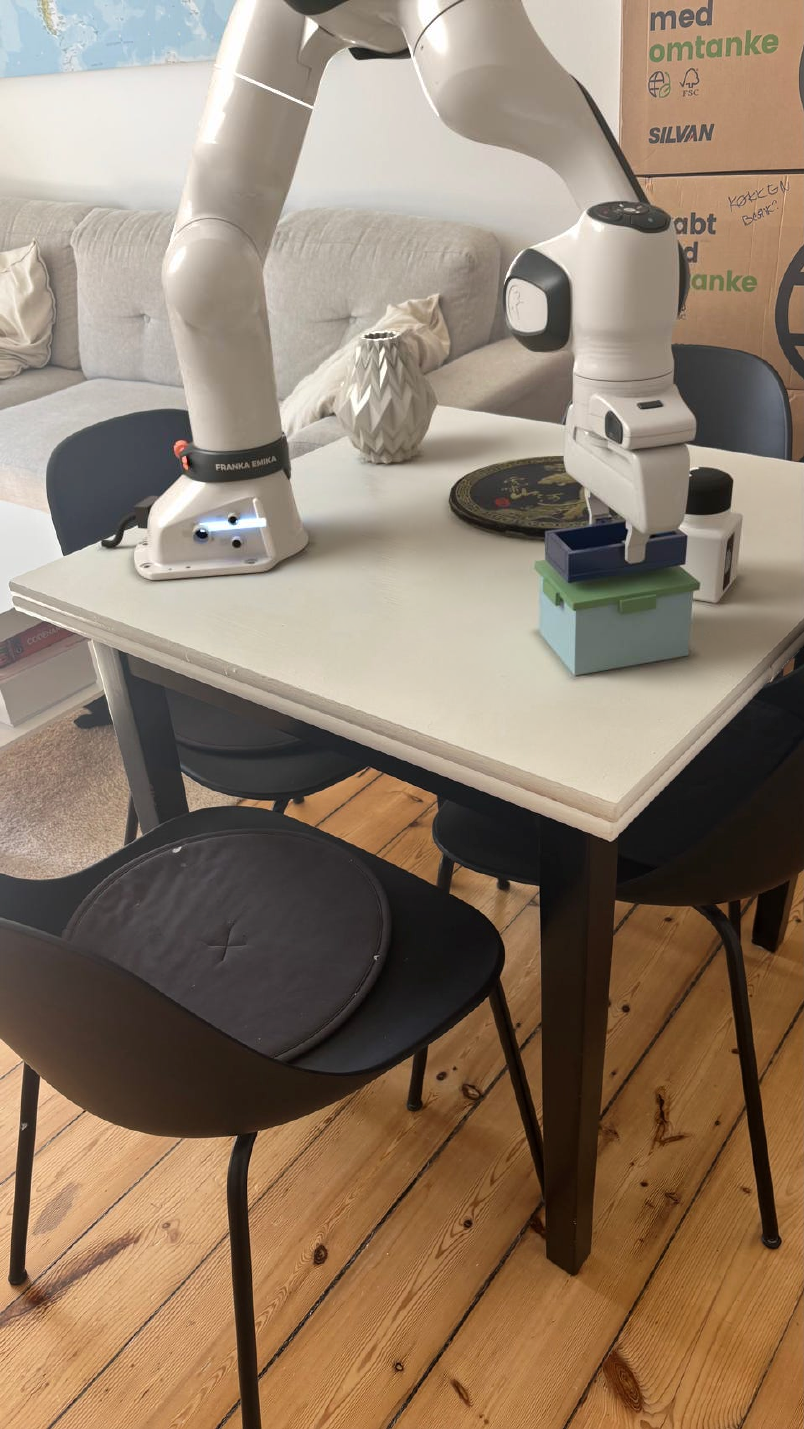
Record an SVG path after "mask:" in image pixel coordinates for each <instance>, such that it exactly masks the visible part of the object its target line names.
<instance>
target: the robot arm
mask: <svg viewBox="0 0 804 1429" xmlns="http://www.w3.org/2000/svg"><path fill="white" fill-rule="evenodd" d="M527 13H528V12H527V11H526V8H525V6H524V4H523V1H522V0H235V3H234V6H233V8H232V10H231V12H230V15H229V18H228V21H227V22H226V26H225V28H224V30H223V34H222V38H221V41H220V44H219V48H218V50H217V55H216V56H215V57H216V59H215V61H214V66H213V69H212V73H211V77H210V80H209V85H208V89H207V91H206V92H207V93H206V97H205V100H204V104H203V108H202V112H201V116H200V119H199V124H198V127H197V132H196V136H195V140H194V144H193V147H192V152H191V156H190V160H189V165H188V170H187V173H186V177H185V182H184V186H183V190H182V193H181V199H180V201H179V202H180V203H179V206H178V210H177V214H176V218H175V222H174V227H173V229H172V230H173V231H172V234H171V237H170V242H169V244H168V246H167V249H166V251H165V254H164V257H163V259H162V263H161V271H160V272H161V284H162V290H163V295H164V300H165V305H166V311H167V314H168V315H167V316H168V319H169V324H170V330H171V333H172V334H171V335H172V339H173V343H174V347H175V352H176V358H177V360H178V365H179V369H180V373H181V378H182V383H183V389H184V394H185V401H186V406H187V413H188V418H189V419H188V420H189V424H190V430H191V436H192V441H191V442H189V443H187V441H186V440H183V439H182V440H181V439H180V440H178V441H176V442H175V444H174V445H173V450H174V455H175V457H176V458H177V459H179V466H180V470H181V476H180V477H179V478H177V480H175V482H173V484H171V486H169V488H167V489H166V491H164V493H162V494H161V495H160V496H158V495H149V496H148V497H146V498H144V499H142V500H141V501H140V502H138V503H137V504H135V505H133V511H132V512H130V513H128V514H127V515H125V516H124V517H123V518H122V519H121V520H120V521H119V523H118V524H117V527H116V532H115V536H114V538H113V539H105V538H103V539H102V538H101V541H100V545H101V547H102V548H110V549H112V548H116V547H118V546H119V545H120V544H121V542H122V541H123V538H124V535H125V530H126V528H127V526H129V524H130V523H131V522H133V521H136V524H137V529H142V530H143V529H144V530H146V535H147V536H145V537H144V538H143V539H141V540H140V541H139V542H138V543H137V545H136V547H135V548H134V551H133V561H134V567H135V570H136V572H137V573H138V574H139V575H140V576H142V577H143V578H145V579H148V580H149V581H159V580H160V581H161V580H173V579H185V578H186V579H188V578H198V577H199V578H200V577H211V576H213V577H214V576H223V575H238V574H239V575H240V574H249V573H262V572H266V571H269V570H271V569H272V568H274V567H275V566H276V565H277V564H278V563H279V562H282V561H284V560H285V559H287V558H289V557H292V556H294V555H295V554H298V553H299V552H300V551H302V550H303V549H305V547H306V546H307V544H308V543H309V535H308V533H307V531H306V529H305V526H304V523H303V521H302V518H301V515H300V513H299V509H298V507H297V503H296V498H295V496H294V491H293V486H292V483H291V478H292V460H291V453H290V445H289V441H288V438H287V435H286V432H285V431H284V430H283V426H282V418H281V409H280V402H279V401H280V400H279V393H278V385H277V376H276V369H275V362H274V353H273V345H272V339H271V330H270V321H269V312H268V305H267V296H266V287H265V280H264V269H265V268H264V267H265V264H266V261H267V257H268V254H269V251H270V248H271V245H272V242H273V239H274V235H275V233H276V230H277V227H278V224H279V222H280V217H281V214H282V211H283V209H284V206H285V203H286V200H287V197H288V195H289V191H290V189H291V186H292V183H293V181H294V176H295V173H296V170H297V167H298V163H299V160H300V156H301V153H302V150H303V147H304V143H305V139H306V135H307V133H308V129H309V126H310V122H311V119H312V117H313V116H312V115H313V112H314V108H315V106H316V102H317V99H318V95H319V91H320V87H321V84H322V80H323V77H324V74H325V71H326V69H327V67H328V64H329V63H330V61H331V60H333V58H334V57H335V56H336V55H337V54H339V52H342V51H344V50H347V49H348V51H349V53H350V54H351V56H352V57H353V59H354V60H356V61H369V60H392V61H399V60H409V59H412V61H413V65H414V66H415V70H416V73H417V75H418V78H419V81H420V83H421V86H422V89H423V92H424V94H425V96H426V98H427V100H428V102H429V104H430V106H431V108H432V109H433V111H434V112H435V113H436V115H437V117H439V119H440V120H441V122H442V123H443V124H444V125H445V126H446V127H447V128H448V129H449V130H451V131H452V132H454V133H456V134H457V135H459V136H460V137H462V138H465V139H468V140H470V141H472V142H476V143H479V144H483V145H488V146H493V147H497V148H502V149H506V150H509V151H513V152H516V153H520V154H522V155H525V156H527V157H530V158H532V159H535V160H536V161H539V162H541V163H543V164H544V165H546V166H548V167H549V168H550V169H551V170H553V171H554V172H555V173H556V174H558V176H559V177H560V178H561V180H563V182H564V183H565V185H566V187H567V189H568V191H569V192H570V195H571V197H572V198H573V200H574V202H575V204H576V206H577V208H578V209H579V211H580V213H581V216H580V218H579V220H578V222H577V223H576V224H575V225H574V226H572V227H571V228H570V229H568V230H567V231H565V232H564V233H561V234H559V235H557V236H556V237H554V238H551V239H548V240H545V241H543V242H540V243H537V244H536V245H533V246H530V247H527V248H525V249H523V250H522V251H520V252H519V253H518V254H517V255H516V256H515V258H514V260H513V261H512V262H511V264H510V266H509V267H508V271H507V273H506V276H505V279H504V283H503V291H502V308H503V316H504V320H505V323H506V326H507V328H508V330H509V331H510V333H511V335H512V336H513V337H514V339H515V340H516V341H517V342H518V343H519V344H520V345H521V346H523V347H524V348H525V349H527V350H529V351H530V352H533V353H542V354H543V353H544V354H554V353H561V352H566V351H568V352H570V353H571V354H572V355H573V358H574V363H573V369H572V403H571V404H570V405H569V407H568V409H567V412H566V416H565V417H566V418H565V428H564V437H563V438H564V439H563V440H564V441H563V456H564V465H565V469H566V472H567V473H568V474H569V475H570V476H571V477H573V478H574V479H575V480H576V481H578V482H579V483H580V484H581V485H583V486H584V487H585V498H586V502H587V507H588V511H589V514H590V524H596V523H602V522H609V521H612V516H611V515H610V514H609V507H610V508H611V509H612V510H614V511H615V512H616V513H617V514H619V515H620V516H621V517H622V518H624V519H625V520H626V529H628V534H627V538H626V541H621V549H622V551H621V556H622V557H623V558H624V559H625V560H626V561H627V562H628V563H630V564H631V563H637V562H642V561H643V560H644V558H645V546H646V543H647V541H648V539H649V537H650V535H652V534H660V533H666V532H671V531H675V530H677V529H678V528H679V526H680V525H681V523H682V522H683V520H684V517H685V512H686V505H687V497H688V487H689V475H690V468H691V456H690V450H689V448H688V446H687V444H686V442H687V443H688V442H691V441H694V440H695V439H696V433H697V419H696V417H695V415H694V414H693V412H692V410H691V408H689V407H688V405H687V404H686V402H685V401H684V400H683V397H682V396H681V394H680V391H679V389H678V387H677V385H676V384H675V383H674V376H675V375H674V374H675V358H674V354H673V350H672V336H673V332H674V329H675V326H676V322H677V320H678V318H679V317H680V315H681V312H682V311H683V309H684V306H685V305H686V302H687V299H688V296H689V293H690V287H691V268H690V264H689V260H688V257H687V254H686V252H685V250H684V248H683V246H682V244H681V243H680V241H679V240H678V236H677V231H676V230H677V229H676V225H675V223H674V220H673V217H672V216H671V215H670V214H669V213H668V212H666V211H665V210H664V209H662V208H660V207H658V206H656V205H654V204H651V202H650V201H649V199H648V197H647V195H646V193H645V192H644V189H643V187H642V186H641V184H640V182H639V180H638V178H637V176H636V175H635V173H634V171H633V169H632V167H631V165H630V164H629V161H628V160H627V157H626V156H625V154H624V152H623V150H622V148H621V147H620V146H621V145H619V143H618V141H617V139H616V137H615V136H614V133H613V132H612V129H611V128H610V126H609V124H608V122H607V121H606V118H605V117H604V115H603V113H602V111H601V110H600V108H599V106H598V105H597V103H596V101H595V100H594V98H593V97H592V95H591V94H590V93H589V91H588V90H587V88H586V87H585V86H584V85H583V84H582V83H581V82H580V81H579V80H578V79H577V78H575V76H574V75H572V74H571V73H570V72H568V71H567V69H565V68H564V66H562V64H561V63H560V62H559V61H558V60H557V59H556V58H555V57H554V55H553V54H552V52H551V51H550V50H549V49H548V47H547V46H546V44H545V43H544V42H543V40H542V39H541V37H540V35H539V34H538V32H537V31H536V29H535V27H534V26H533V24H532V22H531V20H530V18H529V15H528V14H527ZM312 108H313V109H312ZM608 506H609V507H608Z"/></svg>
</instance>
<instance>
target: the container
mask: <svg viewBox="0 0 804 1429" xmlns="http://www.w3.org/2000/svg"><path fill="white" fill-rule="evenodd" d="M733 488H734V478H733V477H732V476H731V475H730V474H729V473H728V472H726V471H723V470H721V469H719V468H716V467H715V468H714V467H709V466H708V467H707V466H694V467H693V466H692V467H690V475H689V487H688V497H687V505H686V512H685V517H684V520H683V522H682V523H681V525H680V526H679V528H678V529H679V530H681V531H682V532H683V533H685V534H686V535H687V536H688V538H687V551H686V563H685V565H680V567H682V568H683V569H684V570H685V571H687V572H688V573H689V574H690V575H692V576H693V577H694V578H695V579H696V580H698V581H699V582H700V590H696V591H693V601H700V602H707V603H713V604H716V603H718V602H719V601H720V599H721V598H722V597H723V596H724V594H725V593H726V591H727V590H728V589H729V587H730V586H731V585H732V583H734V581H735V579H736V578H737V576H738V566H739V565H738V564H739V558H740V557H739V556H740V546H741V538H742V537H741V536H742V527H743V519H744V518H743V516H744V515H743V514H742V513H740V512H733V511H731V509H732V501H733V500H732V499H733V490H734V489H733Z"/></svg>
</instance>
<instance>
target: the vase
mask: <svg viewBox="0 0 804 1429" xmlns="http://www.w3.org/2000/svg"><path fill="white" fill-rule="evenodd" d="M408 346H409V345H408V344H407V342H405V341H404V340H403V338H402V333H401V332H396V330H395V331H388V330H385V331H378V330H377V331H375V332H367V334H360V336H359V337H358V343H357V344H356V345H355V348H354V351H353V354H352V356H351V357H350V358H349V360H348V362H347V366H346V369H345V373H344V378H343V382H342V383H341V385H340V386H339V387H338V390H337V392H336V396H335V398H334V401H333V403H332V406H331V409H332V410H333V413H334V415H335V416H336V418H337V419H338V421H339V423H340V424H341V426H342V429H343V431H344V433H345V435H346V436H347V439H349V441H350V443H351V446H353V448H355V449H356V450H359V453H360V456H361V458H363V459H364V461H365V462H372V463H373V464H381V463H384V464H386V465H388V464H390V463H401V462H402V461H408V460H411V459H412V457H414V456H416V455H417V452H418V446H420V445H421V443H422V441H423V440H424V439H425V436H426V434H427V432H428V431H429V429H430V424H431V421H432V418H433V414H434V412H435V410H436V408H437V407H438V403H439V402H438V399H437V395H436V392H435V391H434V389H433V387H432V385H431V382H430V381H429V380H428V379H427V378H426V377H425V376H424V375H423V373H422V370H421V367H420V364H419V361H418V359H417V358H418V357H416V355H414V354H413V352H412V351H411V350H410V348H409V347H408Z"/></svg>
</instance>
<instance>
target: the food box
mask: <svg viewBox="0 0 804 1429" xmlns="http://www.w3.org/2000/svg"><path fill="white" fill-rule="evenodd" d="M533 563H534V564H533V565H534V567H533V568H534V570H535V571H536V572H537V573H538V575H539V634H540V636H541V637H542V638H543V639H544V640H545V642H546V643H547V644H548V646H550V648H551V649H552V650H553V652H554V653H555V654H556V655H557V656H558V658H559V659H560V660H561V661H562V662H563V664H564V665H565V666H566V667H567V668H568V670H569V671H570V672H571V674H572V675H573V676H580V675H581V676H582V675H587V674H592V673H598V672H603V671H609V670H615V669H621V668H627V667H633V666H637V665H643V664H649V663H654V662H659V661H665V660H671V659H676V658H682V657H687V656H689V650H690V638H691V637H690V636H691V626H692V612H693V601H694V600H693V591H696V590H700V582H699V581H698V580H696V579H695V578H694V577H693V576H692V575H690V574H689V573H688V572H687V571H685V570H684V569H683V568H682V567H680V566H673V567H667V568H661V569H655V570H649V571H642V572H636V573H630V574H624V575H618V576H611V577H605V578H599V579H593V580H587V581H580V582H574V583H567V582H566V581H565V580H564V579H563V577H562V576H561V575H560V574H559V573H558V572H557V571H556V570H555V569H554V568H553V567H552V566H551V565H550V564H549V563H548V562H547V561H546V560H545V559H542V560H536V561H534V562H533Z"/></svg>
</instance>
